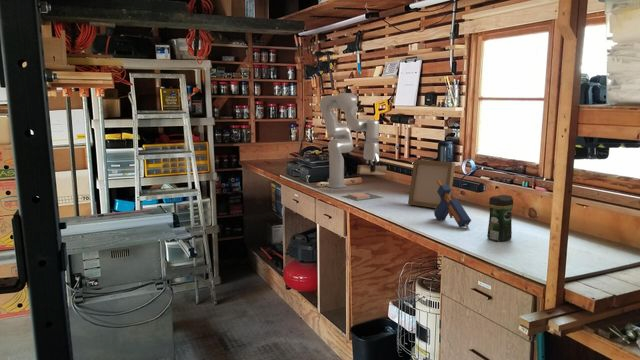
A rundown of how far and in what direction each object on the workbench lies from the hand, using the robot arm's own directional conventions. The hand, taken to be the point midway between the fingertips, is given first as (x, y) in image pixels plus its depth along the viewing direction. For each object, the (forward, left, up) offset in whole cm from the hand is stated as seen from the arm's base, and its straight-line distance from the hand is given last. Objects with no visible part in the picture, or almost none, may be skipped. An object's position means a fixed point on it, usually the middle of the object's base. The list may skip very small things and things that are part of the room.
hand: (371, 170), depth 298 cm
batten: (0, +1, -2) cm, 2 cm away
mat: (+6, -11, -15) cm, 19 cm away
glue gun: (+77, -11, -15) cm, 79 cm away
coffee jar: (+105, -14, -15) cm, 107 cm away
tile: (+6, -9, -13) cm, 17 cm away
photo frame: (+44, +8, -15) cm, 47 cm away
